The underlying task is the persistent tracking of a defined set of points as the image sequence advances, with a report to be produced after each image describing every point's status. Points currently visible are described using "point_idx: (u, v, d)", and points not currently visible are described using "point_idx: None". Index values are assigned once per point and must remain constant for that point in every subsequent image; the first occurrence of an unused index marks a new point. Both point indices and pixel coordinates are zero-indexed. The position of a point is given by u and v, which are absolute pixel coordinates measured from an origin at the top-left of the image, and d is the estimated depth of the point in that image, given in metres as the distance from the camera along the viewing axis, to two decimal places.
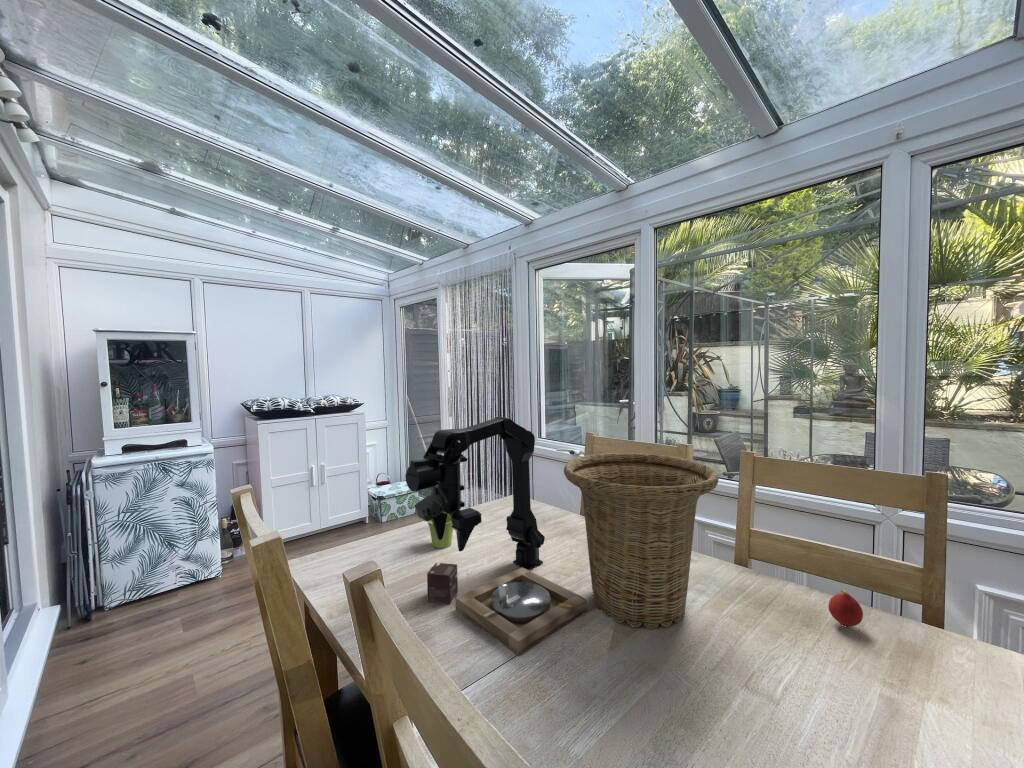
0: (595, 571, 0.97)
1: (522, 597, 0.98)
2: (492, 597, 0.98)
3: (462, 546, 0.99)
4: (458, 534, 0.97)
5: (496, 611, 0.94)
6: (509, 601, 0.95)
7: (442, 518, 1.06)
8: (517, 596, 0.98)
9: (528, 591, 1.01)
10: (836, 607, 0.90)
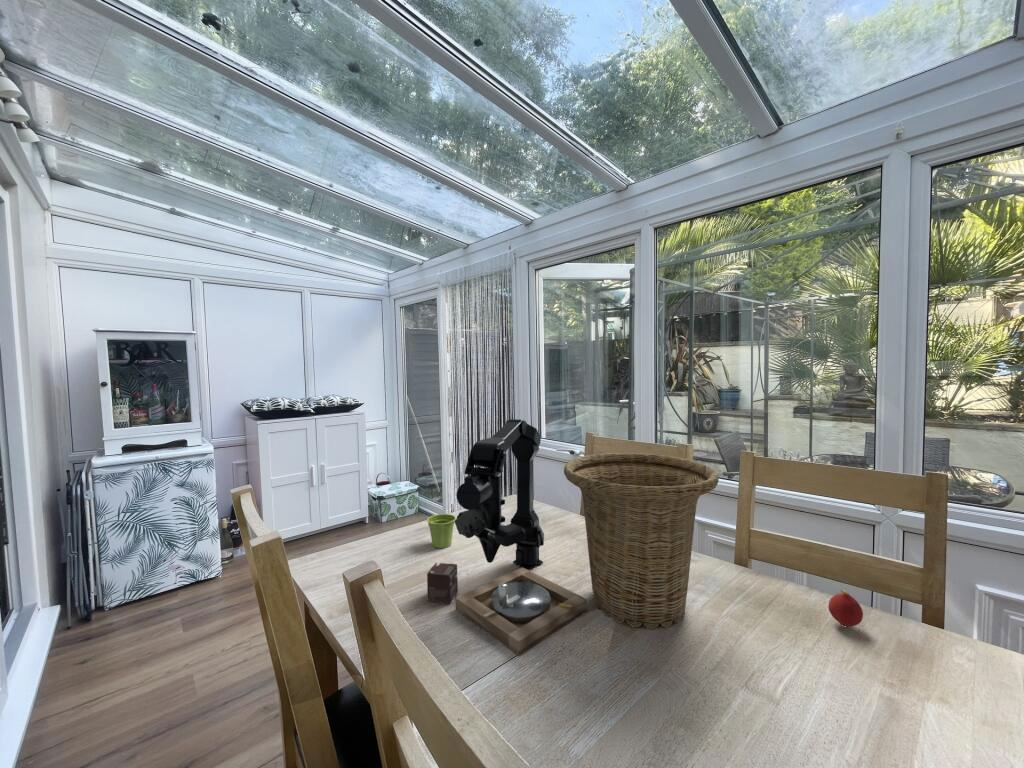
0: (595, 571, 0.97)
1: (522, 597, 0.98)
2: (492, 597, 0.98)
3: (492, 558, 0.97)
4: (488, 545, 0.95)
5: (496, 611, 0.94)
6: (509, 601, 0.95)
7: None
8: (517, 596, 0.98)
9: (528, 591, 1.01)
10: (836, 607, 0.90)
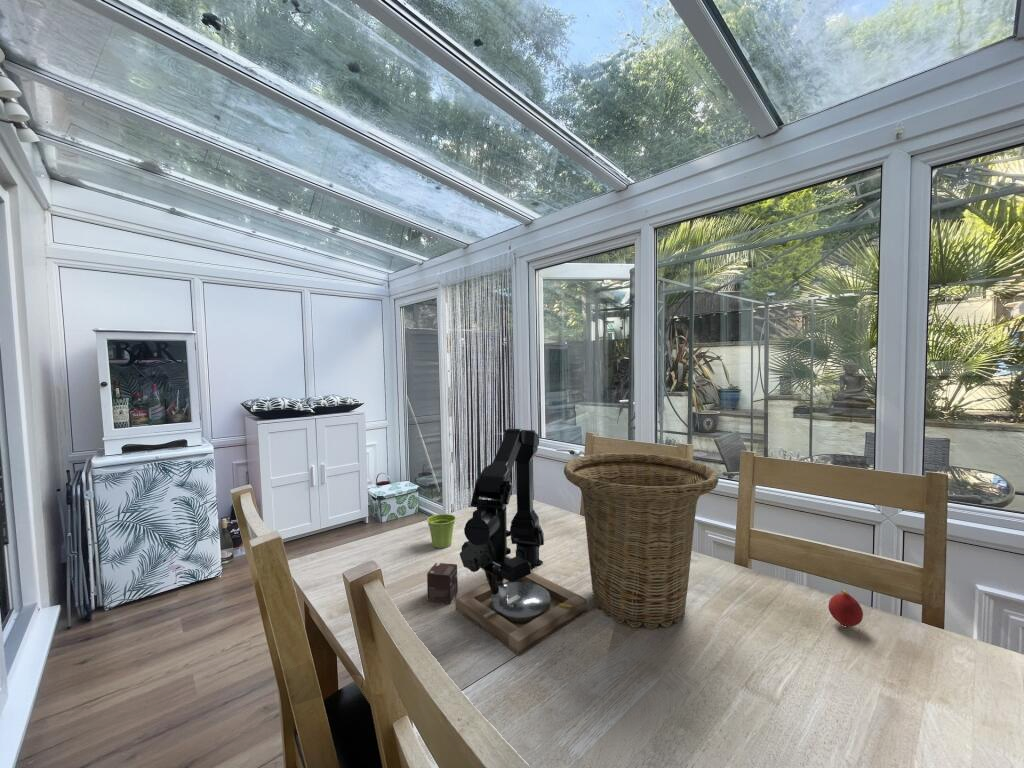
0: (595, 571, 0.97)
1: (522, 597, 0.98)
2: (492, 597, 0.98)
3: (497, 590, 0.96)
4: (493, 578, 0.94)
5: (496, 611, 0.94)
6: (509, 602, 0.95)
7: None
8: (517, 596, 0.98)
9: (528, 591, 1.01)
10: (836, 607, 0.90)
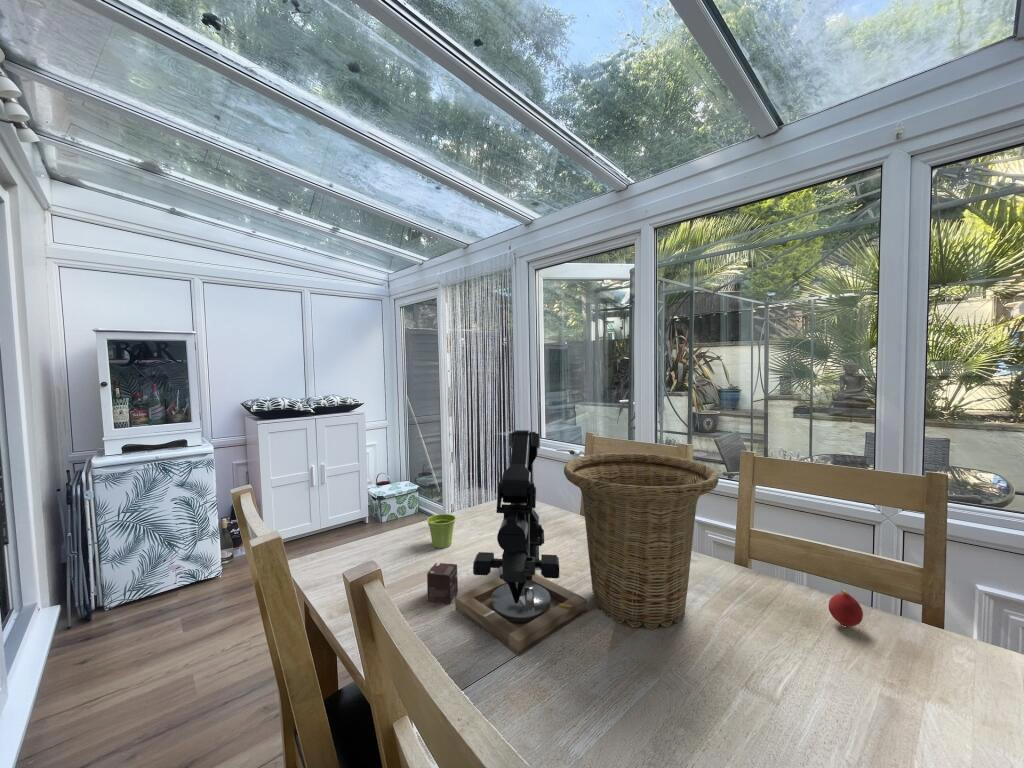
0: (595, 571, 0.97)
1: (521, 596, 0.99)
2: (509, 612, 0.92)
3: None
4: (521, 585, 0.91)
5: (529, 617, 0.92)
6: None
7: None
8: (521, 597, 0.97)
9: None
10: (836, 607, 0.90)
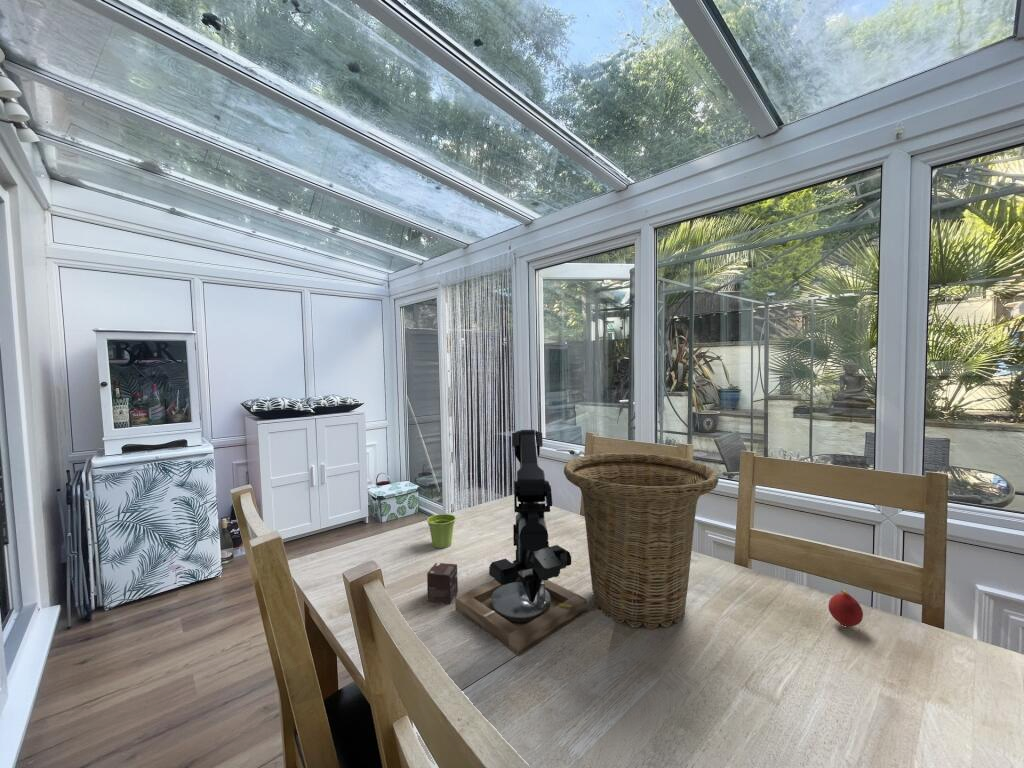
0: (595, 571, 0.97)
1: (520, 596, 0.99)
2: (527, 613, 0.92)
3: None
4: (539, 581, 0.92)
5: (544, 611, 0.94)
6: (535, 599, 0.96)
7: None
8: (523, 596, 0.98)
9: (508, 594, 1.00)
10: (836, 607, 0.90)
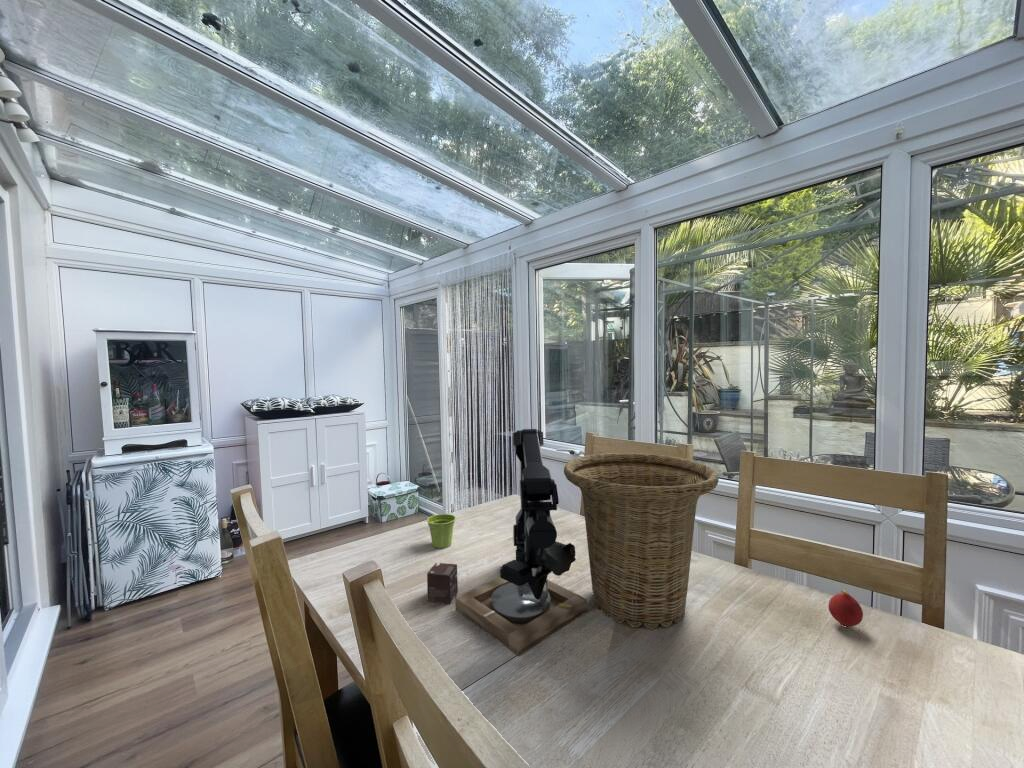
0: (595, 571, 0.97)
1: (520, 596, 0.99)
2: (536, 611, 0.93)
3: None
4: (545, 578, 0.94)
5: (549, 606, 0.96)
6: None
7: None
8: (524, 595, 0.98)
9: (507, 596, 0.99)
10: (836, 607, 0.90)
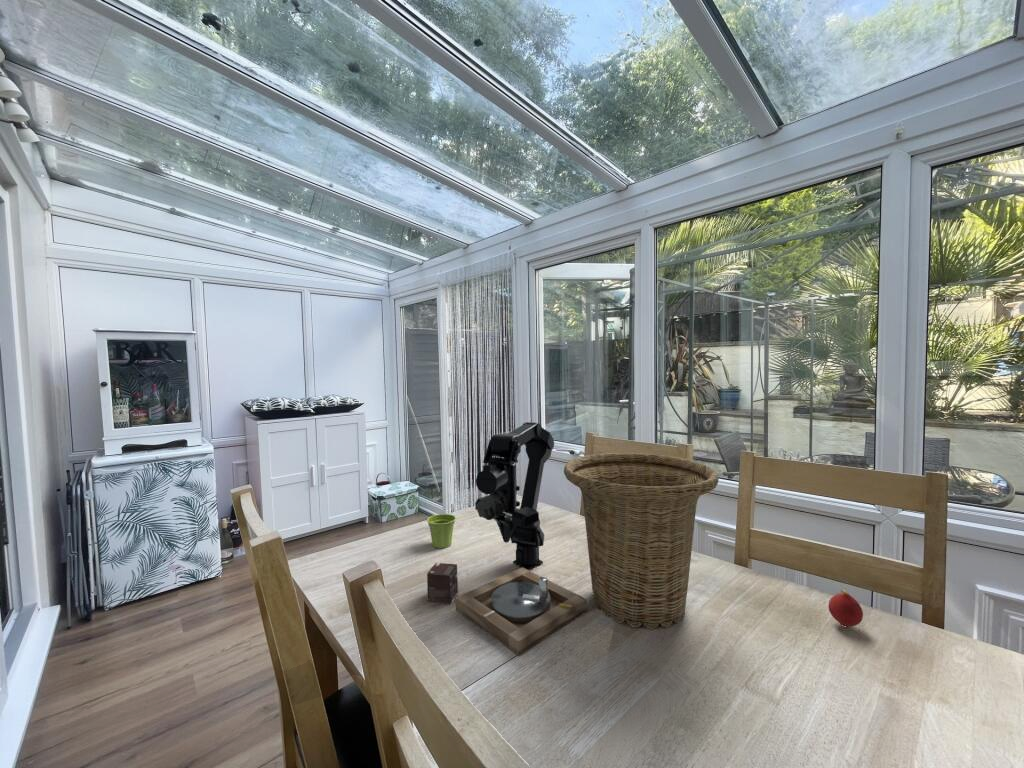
0: (595, 571, 0.97)
1: (520, 596, 0.99)
2: (536, 610, 0.93)
3: (508, 538, 1.09)
4: (505, 527, 1.07)
5: (549, 606, 0.96)
6: (537, 596, 0.97)
7: None
8: (524, 595, 0.98)
9: (507, 596, 0.99)
10: (836, 607, 0.90)
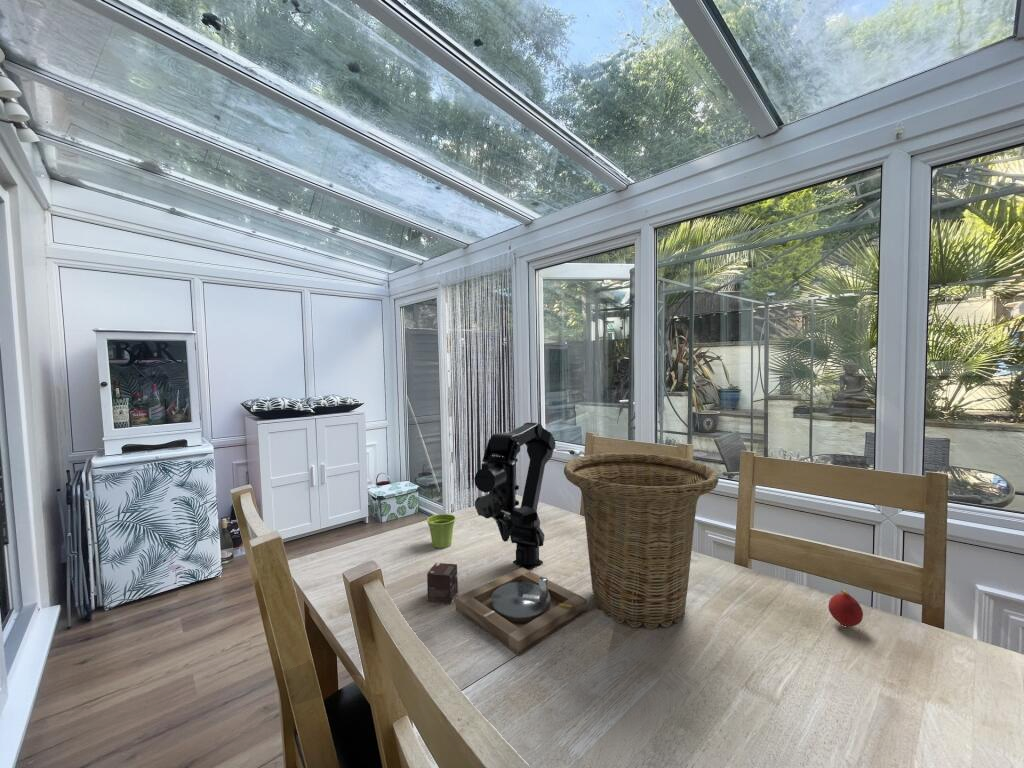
0: (595, 571, 0.97)
1: (520, 596, 0.99)
2: (536, 610, 0.93)
3: (507, 537, 1.09)
4: (504, 526, 1.07)
5: (549, 606, 0.96)
6: (537, 596, 0.97)
7: None
8: (524, 595, 0.98)
9: (507, 596, 0.99)
10: (836, 607, 0.90)
